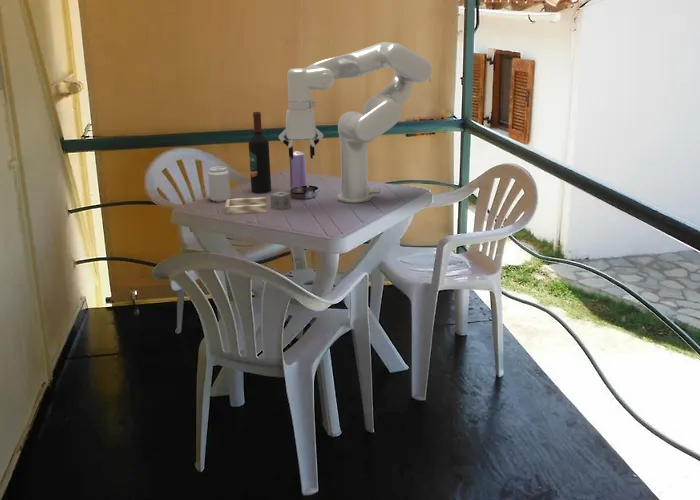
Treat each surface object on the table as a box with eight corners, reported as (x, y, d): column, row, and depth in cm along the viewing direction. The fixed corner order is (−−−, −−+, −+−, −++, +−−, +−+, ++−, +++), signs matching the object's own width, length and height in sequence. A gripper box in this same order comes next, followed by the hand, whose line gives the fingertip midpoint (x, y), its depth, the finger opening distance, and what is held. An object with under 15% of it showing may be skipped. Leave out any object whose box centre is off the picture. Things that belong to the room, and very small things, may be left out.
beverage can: (303, 194, 274) (302, 155, 268) (288, 193, 275) (286, 154, 270) (307, 190, 279) (306, 151, 274) (292, 189, 280) (291, 151, 275)
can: (216, 203, 263) (214, 171, 259) (206, 199, 269) (203, 167, 265) (234, 199, 268) (232, 167, 264) (224, 195, 273) (221, 164, 269)
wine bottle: (268, 193, 275) (264, 114, 265) (249, 193, 276) (244, 113, 266) (273, 188, 282) (269, 110, 272) (254, 188, 283) (249, 110, 273)
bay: (266, 204, 262) (266, 197, 261) (267, 212, 252) (266, 205, 251) (227, 205, 260) (226, 199, 259) (225, 214, 251) (225, 207, 250)
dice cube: (290, 206, 258) (290, 193, 257) (282, 210, 254) (281, 196, 253) (279, 205, 261) (279, 191, 259) (271, 208, 257) (270, 194, 255)
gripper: (324, 103, 251) (325, 154, 257) (274, 105, 249) (276, 156, 255) (326, 106, 244) (327, 159, 250) (274, 108, 242) (277, 161, 248)
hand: (301, 157), depth 252 cm, fingers open, 6 cm apart
